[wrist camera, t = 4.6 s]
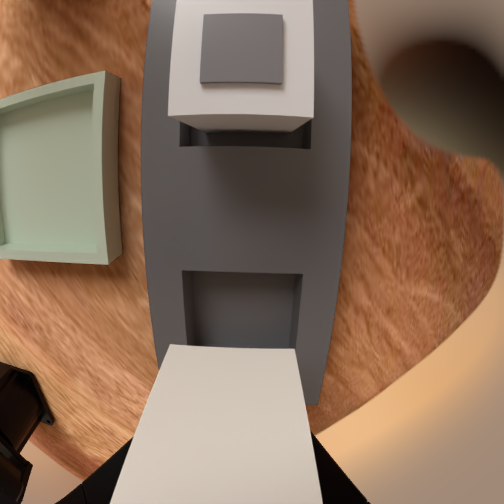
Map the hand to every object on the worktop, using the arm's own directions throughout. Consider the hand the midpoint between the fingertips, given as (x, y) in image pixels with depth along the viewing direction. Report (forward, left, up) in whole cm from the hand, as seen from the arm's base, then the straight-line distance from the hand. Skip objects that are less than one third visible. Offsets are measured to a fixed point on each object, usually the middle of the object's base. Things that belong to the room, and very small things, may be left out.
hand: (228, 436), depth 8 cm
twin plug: (+11, 0, -9) cm, 14 cm away
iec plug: (0, 0, -2) cm, 2 cm away
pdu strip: (+7, 0, -10) cm, 12 cm away
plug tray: (+8, +12, -10) cm, 17 cm away
